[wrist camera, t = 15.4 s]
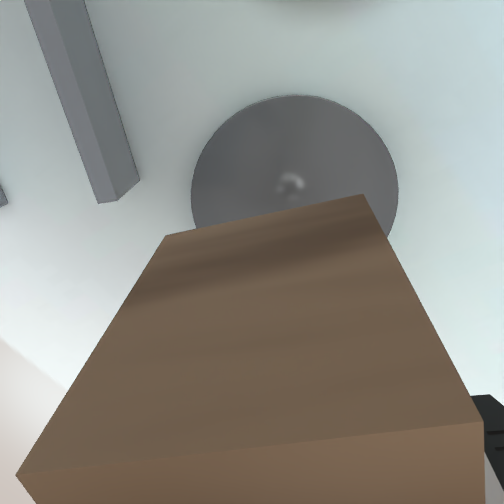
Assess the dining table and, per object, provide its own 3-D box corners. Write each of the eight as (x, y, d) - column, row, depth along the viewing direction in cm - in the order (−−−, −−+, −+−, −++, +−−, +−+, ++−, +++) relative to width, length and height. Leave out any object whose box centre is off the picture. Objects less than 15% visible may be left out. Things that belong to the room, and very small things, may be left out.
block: (165, 235, 13) (15, 474, 6) (363, 193, 12) (483, 421, 5) (219, 381, 15) (163, 675, 8) (386, 357, 14) (489, 669, 7)
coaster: (170, 117, 25) (166, 119, 25) (390, 74, 23) (393, 75, 23) (217, 297, 31) (215, 303, 30) (399, 274, 29) (402, 280, 28)
